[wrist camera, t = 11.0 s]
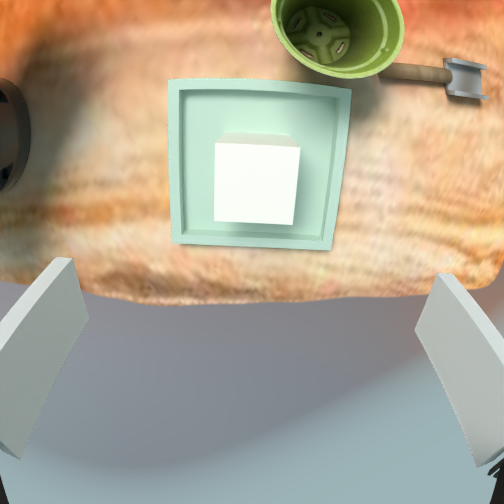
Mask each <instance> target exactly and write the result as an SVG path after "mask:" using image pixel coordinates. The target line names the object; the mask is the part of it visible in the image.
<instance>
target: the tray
mask: <svg viewBox="0 0 504 504" xmlns="http://www.w3.org/2000/svg"><path fill="white" fill-rule="evenodd" d="M351 95H352V89H346V88H340V87H333V86H326V85H319V84H310V83H301V82H291V81H279V80H264V79H242V78H192V79H169V80H168V167H169V194H170V213H171V229H172V243H177V244H200V245H223V246H246V247H268V248H290V249H311V250H331V246H332V240H333V235H334V229H335V223H336V217H337V210H338V204H339V197H340V190H341V183H342V176H343V169H344V161H345V153H346V145H347V136H348V127H349V117H350V106H351ZM224 132H245V133H265V134H280V135H290V136H291V137H292V138H293V140H294V141H295V142H296V143H297V144H298V145H299V147H300V157H299V168H298V178H297V188H296V198H295V208H294V217H293V225H285V224H267V223H246V222H223V221H214V175H215V143H216V141H217V140H218V139H219V138H220V136H221V135H222V134H223V133H224Z"/></svg>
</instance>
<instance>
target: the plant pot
mask: <svg viewBox="0 0 504 504" xmlns="http://www.w3.org/2000/svg"><path fill="white" fill-rule="evenodd" d="M324 14H328V15H331V16H333V17H334V18H335V19H336V22H334V21H333V20H331V19H330V18H328V17H326V16H325V15H324ZM298 17H301V20H300V21H299V22H298V23H297V25H296V27H295V28H293V27H292V25H293V24H294V23H295V20H296V19H297V18H298ZM271 20H272V24H273V27H274V30H275V33H276V35H277V37H278V39H279V40H280V42H281V43H282V45H283V46H284V47H285V49H286V50H287V51H288V52H289V53H290V54H291V55H292V56H293V57H294V58H295V59H297V60H298V61H299V62H301V63H302V64H303V65H305V66H307V67H308V68H310V69H312V70H315V71H317V72H319V73H322V74H325V75H328V76H332V77H336V78H343V79H356V78H364V77H368V76H371V75H374V74H377V73H379V72H380V71H382V70H384V69H385V68H386V67H388V66H389V65H390V64H391V63H392V62H393V61H394V60H395V58H396V57H397V55H398V53H399V51H400V50H401V47H402V44H403V40H404V20H403V16H402V13H401V10H400V7H399V5H398V3H397V1H396V0H272V1H271ZM318 32H321V33H322V36H321V37H318V36H317V35H316V34H317V33H318ZM342 42H343V43H344V47H343V49H342V50H341V52H340V53H336V51H337V50H338V48H339V47H340V45H341V43H342ZM300 49H303V50H304V51H305V52H307V53H308V54H311V55H313V58H308V57H307V56H306V55H304V54H302V53H301V52H300Z"/></svg>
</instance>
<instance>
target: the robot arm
mask: <svg viewBox="0 0 504 504" xmlns="http://www.w3.org/2000/svg"><path fill="white" fill-rule="evenodd" d="M29 146H30V122H29V116H28V111H27V108H26V104H25V102H24V99H23V97H22V95H21V93H20V92H19V90H18V89H17V88H16V87H15V86H14V85H13V84H12V83H11V82H9V81H8V80H6V79H3V78H0V194H1V193H3V192H4V191H6V190H8V189H9V188H11V187H12V186H13V185H14V184H15V183H16V182H17V180H18V179H19V177H20V176H21V174H22V172H23V170H24V167H25V164H26V161H27V157H28V153H29ZM88 320H89V315H88V312H87V309H86V306H85V302H84V299H83V295H82V292H81V288H80V285H79V281H78V277H77V274H76V270H75V266H74V262H73V258H63V257H56V258H55V259H54V260H53V261H52V262H51V263H50V264H49V265H48V266H47V268H46V269H45V270H44V271H43V272H42V273H41V274H40V275H39V276H38V278H37V279H36V280H35V281H34V282H33V283H32V284H31V285H30V287H29V288H28V289H27V290H26V291H25V293H24V294H23V295H22V296H21V297H20V298H19V300H18V301H17V302H16V304H15V305H14V306H13V307H12V308H11V309H10V311H9V312H8V313H7V314H6V316H5V317H4V318H3V319H2V321H1V322H0V449H1V450H2V451H4V452H6V453H8V454H10V455H12V456H14V457H16V458H18V459H20V460H21V458H22V455H23V452H24V450H25V447H26V445H27V443H28V440H29V438H30V435H31V433H32V431H33V428H34V426H35V424H36V422H37V419H38V417H39V415H40V413H41V410H42V408H43V406H44V404H45V402H46V400H47V398H48V396H49V394H50V391H51V389H52V387H53V385H54V383H55V381H56V379H57V377H58V375H59V373H60V371H61V369H62V368H63V366H64V364H65V362H66V360H67V358H68V356H69V354H70V352H71V350H72V349H73V347H74V345H75V343H76V341H77V340H78V338H79V336H80V334H81V332H82V331H83V329H84V327H85V325H86V324H87V322H88ZM414 330H415V332H416V334H417V336H418V338H419V340H420V341H421V343H422V345H423V347H424V349H425V351H426V353H427V355H428V357H429V359H430V361H431V363H432V365H433V367H434V369H435V371H436V373H437V375H438V377H439V379H440V381H441V383H442V385H443V388H444V390H445V392H446V394H447V396H448V398H449V400H450V403H451V405H452V407H453V410H454V411H455V414H456V416H457V419H458V421H459V423H460V426H461V428H462V430H463V433H464V435H465V438H466V440H467V443H468V445H469V448H470V451H471V453H472V456H473V458H474V461H475V464H476V466H477V468H478V467H480V466H483V465H485V464H487V463H489V462H491V461H493V460H495V459H496V458H497V457H498V456H499V455H500V454H501V453H503V452H504V339H503V338H502V336H501V335H500V333H499V332H498V331H497V329H496V328H495V327H494V325H493V324H492V322H491V321H490V320H489V318H488V317H487V316H486V314H485V313H484V312H483V311H482V309H481V308H480V307H479V305H478V304H477V303H476V302H475V300H474V299H473V298H472V297H471V296H470V294H469V293H468V292H467V291H466V289H465V288H464V287H463V286H462V285H461V283H460V282H459V281H458V280H457V279H456V277H455V276H454V275H453V274H452V273H437V275H436V278H435V280H434V283H433V286H432V288H431V291H430V294H429V296H428V299H427V301H426V304H425V306H424V309H423V311H422V314H421V316H420V318H419V320H418V323H417V325H416V327H415V329H414ZM499 468H500V470H499V471H498V472H497V473H495V474H494V476H493V477H495V478H497V481H496V485H495V488H494V492H493V495H492V498H491V501H490V504H504V458H503V459H502V460H501V461H499V462H498V463H497V464H496V465H495V466H493V467H492V468H491V469H490V470H489V473H488V475H491V474H492V473H494V472H495V471H496V470H498V469H499ZM0 504H9V502H8V499H7V496H6V493H5V490H4V487H3V484H2V480H1V477H0Z"/></svg>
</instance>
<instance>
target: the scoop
mask: <svg viewBox="0 0 504 504" xmlns="http://www.w3.org/2000/svg"><path fill="white" fill-rule="evenodd" d="M443 64H444V68H438V67H431V66H423V65H414V64H404V63H391V64H390V65H389V66H388V67H386V68H385V69H384V70H382V71H380V72H379V76H380V77H381V78H399V79H412V80H423V81H433V82H441V83H445V88H446V94H449V95H457V96H465V97H471V98H478V99H484V100H488V96H486V95H482V87H481V73H480V69H482V70H487V68H486V65H483V64H478V63H474V62H470V61H465V60H460V59H455V58H443Z"/></svg>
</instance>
